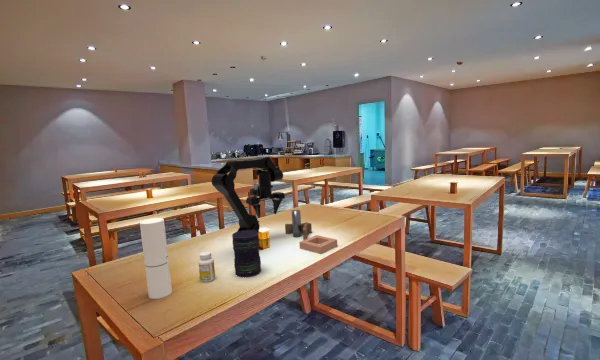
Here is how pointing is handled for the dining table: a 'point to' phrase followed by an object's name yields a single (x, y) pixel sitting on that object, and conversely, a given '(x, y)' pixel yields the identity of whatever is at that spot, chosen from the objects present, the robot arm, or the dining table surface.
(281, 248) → the dining table surface
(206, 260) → the supplement bottle
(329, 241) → the sleeve block
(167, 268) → the cylindrical container
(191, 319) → the dining table surface
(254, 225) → the robot arm
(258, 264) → the storage jar
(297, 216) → the steel axle
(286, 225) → the v block
